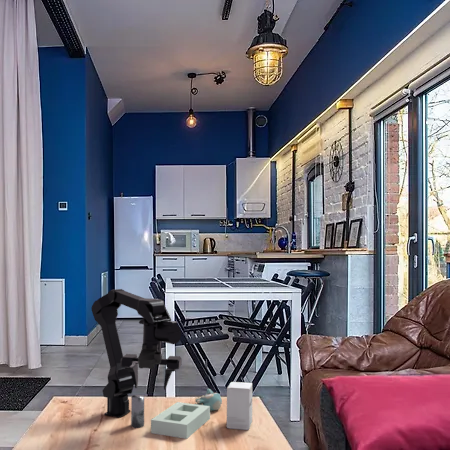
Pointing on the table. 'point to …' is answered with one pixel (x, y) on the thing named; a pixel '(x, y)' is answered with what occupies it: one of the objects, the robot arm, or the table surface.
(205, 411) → the socket board
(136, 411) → the steel pin
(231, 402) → the supplement box
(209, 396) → the stuffed animal
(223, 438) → the table surface
